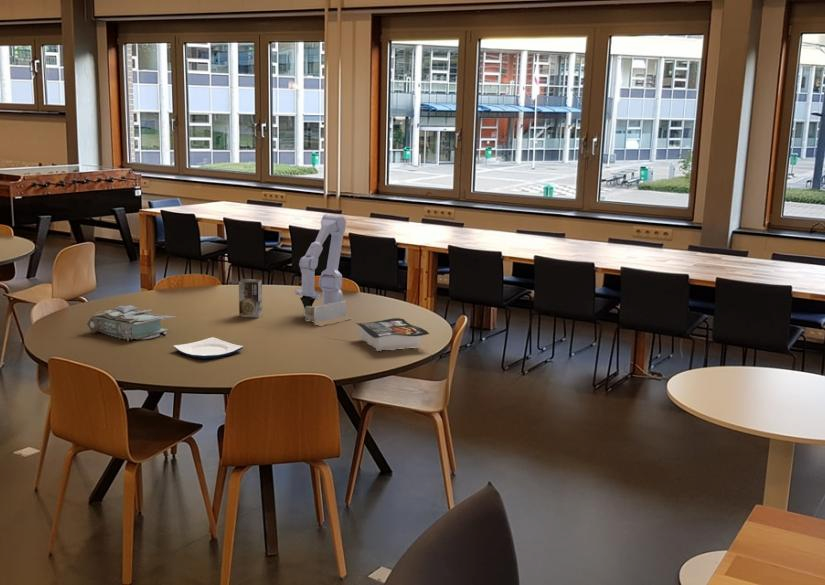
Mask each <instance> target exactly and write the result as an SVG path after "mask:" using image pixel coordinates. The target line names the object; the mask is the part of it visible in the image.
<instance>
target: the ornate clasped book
mask: <svg viewBox="0 0 825 585" xmlns="http://www.w3.org/2000/svg"><path fill="white" fill-rule="evenodd" d="M151 311H152V309H148V310H147V309H144V310H142V311H141V310H139V308H138V307H136V306H134V305H132V304H130V305H123V304H121V305H119V306H117V307H115V308H114V309H113V310H112V309H110V310H109V309H108V310H101V311H97V312H95V313H94V314H93V315H92V316H91V317H90V318H89V320H87V327H88V328H89V330H90V331H91V332H92V333H93V334H95V333H97V332H100V333H102V334H105V335H108V336H110V335H111V336H110V337H112V336H115V337H114V338H116V337H119V338H118V339H121V338H123V339H122V340H127V341H128V342H129V340H130V339H131V341H133V340H132V339H136V340H140V339H139V338H143V339H142V340H149V339H155V338H157V337H160V336H161V334H162V333H163V335H165V336H166V335H167V332H168V331H170V330H169V329H168V328H162V327H161V320H162V321H164V320H165V319H169V318H170V319H171V318H175V315H174V316H173V315H172V316H170V315H161V314H156V313H152V312H151ZM150 312H151V313H150ZM146 337H147V338H146ZM127 341H126V342H127Z"/></svg>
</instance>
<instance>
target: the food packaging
mask: <svg viewBox="0 0 825 585" xmlns="http://www.w3.org/2000/svg"><path fill="white" fill-rule="evenodd" d="M355 324H356V325H357V326H358V327H359V328H358V329H359V332H360V340H361V341H362V340H365V341H364V342H368V343H367V345H368V346H369V345H371V346H370V347H373V348H374V347H375V348H376V349H375V348H374V349H375V350H378V351H380V350H390V349H399V348H410V347H418V348H419V347H420V343H421V341H422V336H427V335H430V333H429V331H427V330H426V329H424V328H422V327H419V326H417V325H416V326H415V325H414V324H410V323H409V322H407V321H406V320H405V318H400V317H398V318H397V317H395V318H388V319H383V320H377V321H372V322H362V323H361V322H359V323H358V322H355ZM378 351H377V352H378ZM380 352H381V351H380Z"/></svg>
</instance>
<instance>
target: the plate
mask: <svg viewBox="0 0 825 585" xmlns="http://www.w3.org/2000/svg"><path fill="white" fill-rule="evenodd" d="M172 346H173V347H172V348H174V349H175V350H177V351H178V352H179V353H181V354H184V355H186V356H188V357H191V356H192V358H196V359H201V360H202V359H203V360H204V359H206V360H207V359H208V358H209V359H216V358H217V359H218V358H222V357H226V356H229V355H232V354H234V353H236V352H239V351H241V350H242V349H243V348H244V345H239V344H234V343H230V342H228V341H225V340H223V339H220V338H217V337H213V336H212V337H209V338H205V339H202V340H197V341H194V342H188V343H184V344H175V345H172Z"/></svg>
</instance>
